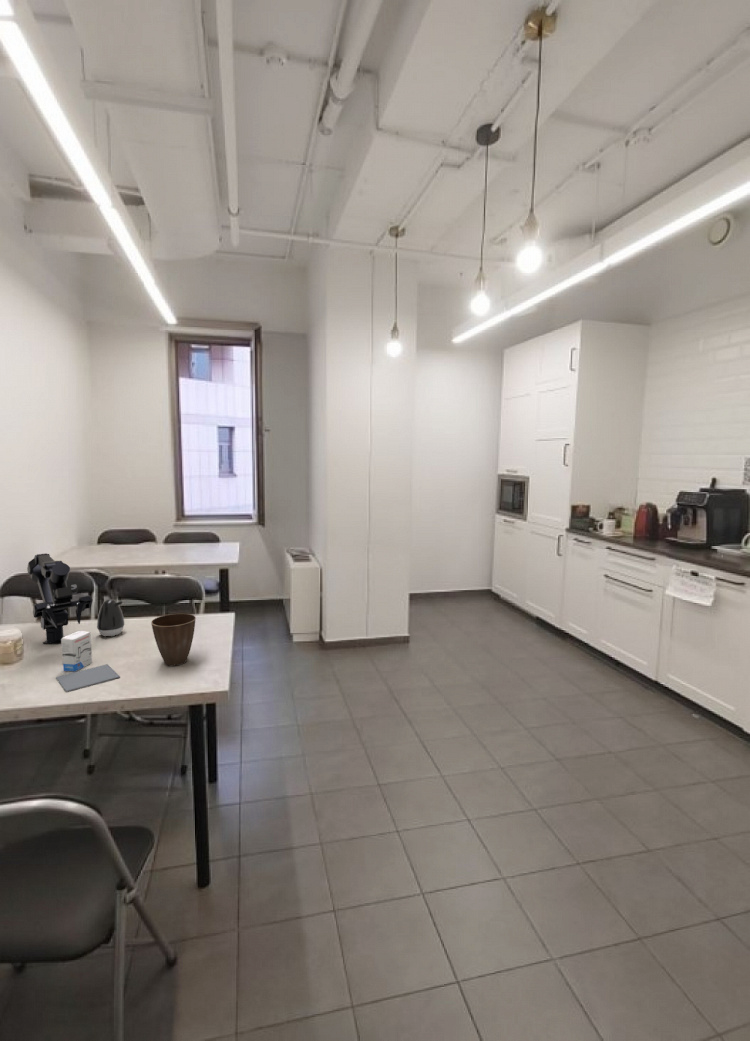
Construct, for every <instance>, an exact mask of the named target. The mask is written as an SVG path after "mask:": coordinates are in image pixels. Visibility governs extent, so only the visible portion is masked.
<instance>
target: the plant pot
mask: <svg viewBox="0 0 750 1041" xmlns="http://www.w3.org/2000/svg"><path fill="white" fill-rule="evenodd" d="M196 619H197V617H196V616H195V615H194V614H190V613H170V614H164V615H161V616H159V617H155V618H154V619H152V620H151V629H152V632H153V637H154V640H155V642H156V647H157V649H158V652H159V654H160V657H161V658H162V660H163V662H164V664H165V665H166V666H169V667H170V666H171V667H173V666H174V667H175V666H180V665H183V664H184V663H186V662H187V661H188V659H189V655H190V653H191V652H190V651H191V648H192V644H193V639H194V634H195V627H196Z"/></svg>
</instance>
